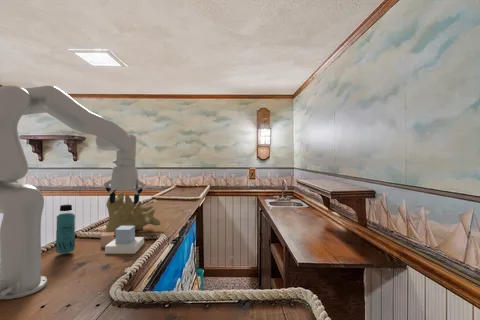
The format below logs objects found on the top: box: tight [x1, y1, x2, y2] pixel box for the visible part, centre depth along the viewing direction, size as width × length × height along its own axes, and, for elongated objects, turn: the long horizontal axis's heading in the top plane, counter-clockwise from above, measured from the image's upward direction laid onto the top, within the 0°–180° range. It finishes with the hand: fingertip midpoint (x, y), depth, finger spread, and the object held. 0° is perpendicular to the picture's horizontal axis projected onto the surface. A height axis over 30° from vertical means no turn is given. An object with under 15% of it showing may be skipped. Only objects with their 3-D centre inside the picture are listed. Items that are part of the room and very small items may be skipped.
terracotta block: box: [100, 232, 115, 248], centre depth 119 cm, size 5×5×5 cm
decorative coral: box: [105, 190, 161, 234], centre depth 138 cm, size 26×22×25 cm
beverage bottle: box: [55, 204, 76, 255], centre depth 107 cm, size 6×7×20 cm
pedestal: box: [104, 236, 145, 255], centre depth 115 cm, size 12×12×3 cm
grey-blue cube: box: [114, 226, 136, 244], centre depth 115 cm, size 6×6×6 cm
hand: (124, 203), depth 114 cm, fingers open, 9 cm apart
